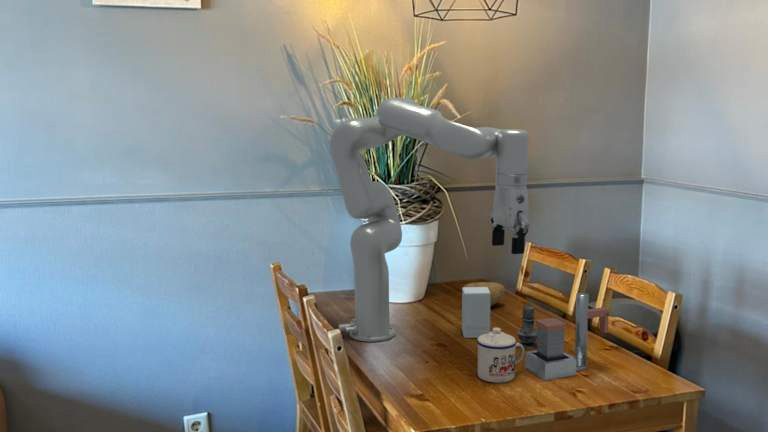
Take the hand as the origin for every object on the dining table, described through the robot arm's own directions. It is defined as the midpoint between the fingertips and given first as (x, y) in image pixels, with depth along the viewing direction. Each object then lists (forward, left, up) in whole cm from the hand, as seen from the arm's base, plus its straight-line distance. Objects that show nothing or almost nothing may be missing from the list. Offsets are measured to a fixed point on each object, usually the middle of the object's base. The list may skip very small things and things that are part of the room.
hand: (507, 249), depth 175 cm
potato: (+17, +42, -28) cm, 53 cm away
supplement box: (+2, +19, -28) cm, 34 cm away
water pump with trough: (+10, -13, -28) cm, 32 cm away
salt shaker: (+10, +5, -28) cm, 30 cm away
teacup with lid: (-7, -11, -28) cm, 31 cm away
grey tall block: (+5, -13, -28) cm, 31 cm away
